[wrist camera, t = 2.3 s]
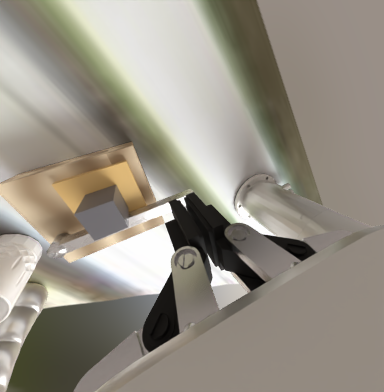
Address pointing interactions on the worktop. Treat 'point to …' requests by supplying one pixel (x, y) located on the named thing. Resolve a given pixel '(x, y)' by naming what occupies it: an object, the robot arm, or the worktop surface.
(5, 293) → the white cup
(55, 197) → the socket block
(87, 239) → the silver rod
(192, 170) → the worktop surface
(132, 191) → the plug
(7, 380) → the plastic bottle
